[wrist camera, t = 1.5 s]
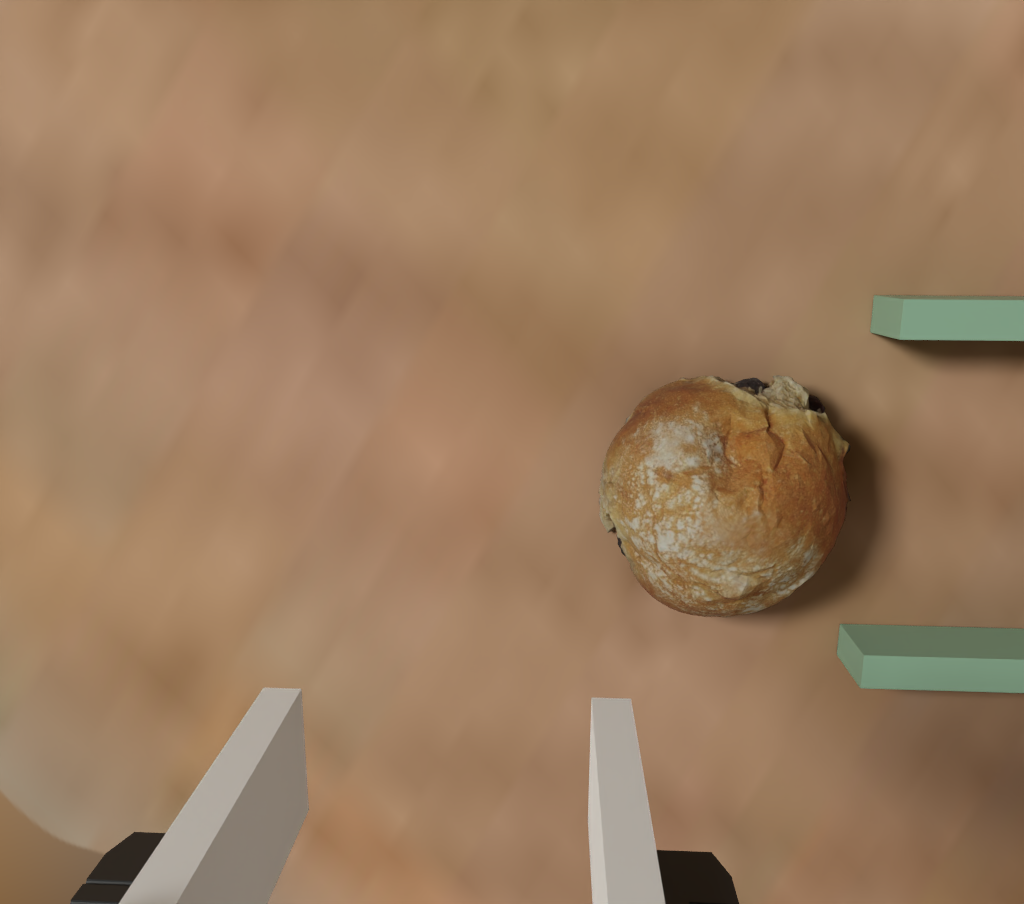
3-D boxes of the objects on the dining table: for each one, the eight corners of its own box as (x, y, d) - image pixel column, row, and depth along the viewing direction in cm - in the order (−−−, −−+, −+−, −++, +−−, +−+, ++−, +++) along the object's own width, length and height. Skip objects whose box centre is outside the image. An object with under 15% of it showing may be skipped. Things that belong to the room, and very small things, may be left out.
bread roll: (587, 409, 40) (520, 489, 33) (785, 306, 34) (751, 379, 27) (695, 575, 41) (651, 682, 35) (902, 504, 35) (895, 617, 29)
